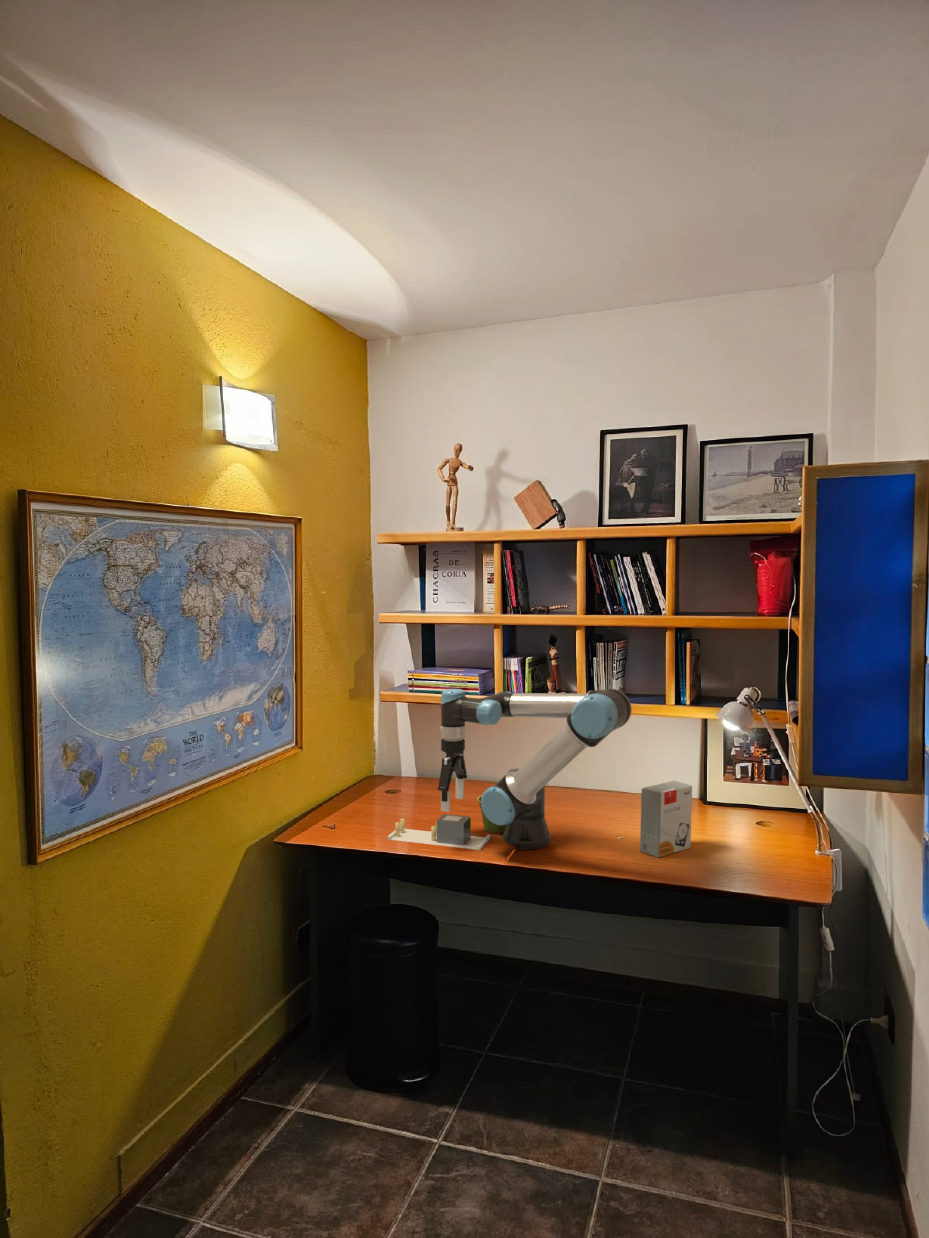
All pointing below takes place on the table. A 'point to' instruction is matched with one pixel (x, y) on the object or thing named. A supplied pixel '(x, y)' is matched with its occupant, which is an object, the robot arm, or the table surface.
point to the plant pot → (488, 824)
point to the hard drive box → (665, 818)
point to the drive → (453, 829)
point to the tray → (431, 837)
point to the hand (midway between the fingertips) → (452, 804)
